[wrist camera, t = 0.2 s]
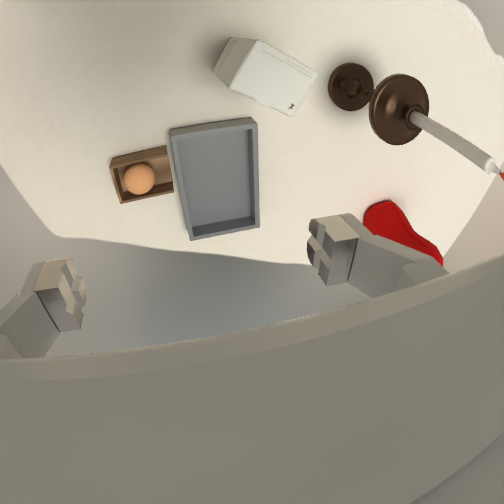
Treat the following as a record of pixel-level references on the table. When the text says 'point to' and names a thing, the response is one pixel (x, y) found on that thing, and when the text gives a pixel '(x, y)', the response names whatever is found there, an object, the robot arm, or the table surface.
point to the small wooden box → (151, 157)
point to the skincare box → (264, 74)
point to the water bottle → (398, 229)
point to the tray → (218, 176)
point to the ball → (139, 178)
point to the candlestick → (398, 110)
